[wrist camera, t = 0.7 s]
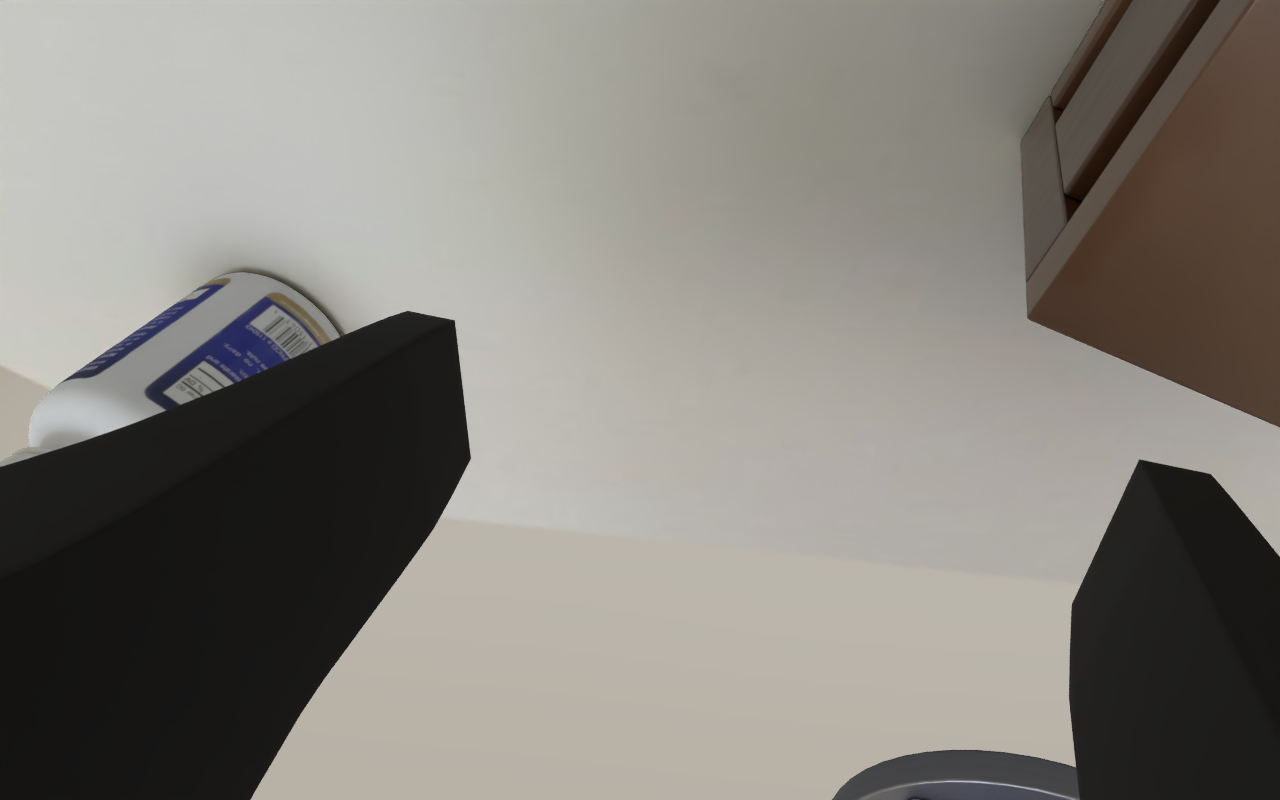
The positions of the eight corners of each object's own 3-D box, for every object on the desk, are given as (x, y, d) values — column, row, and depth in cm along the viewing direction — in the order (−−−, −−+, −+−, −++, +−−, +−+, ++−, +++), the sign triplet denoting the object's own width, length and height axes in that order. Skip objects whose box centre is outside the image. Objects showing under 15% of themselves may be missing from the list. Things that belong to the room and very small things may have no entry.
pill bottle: (224, 396, 29) (-17, 597, 22) (184, 250, 26) (-112, 433, 19) (370, 437, 28) (163, 663, 21) (347, 290, 24) (95, 500, 18)
